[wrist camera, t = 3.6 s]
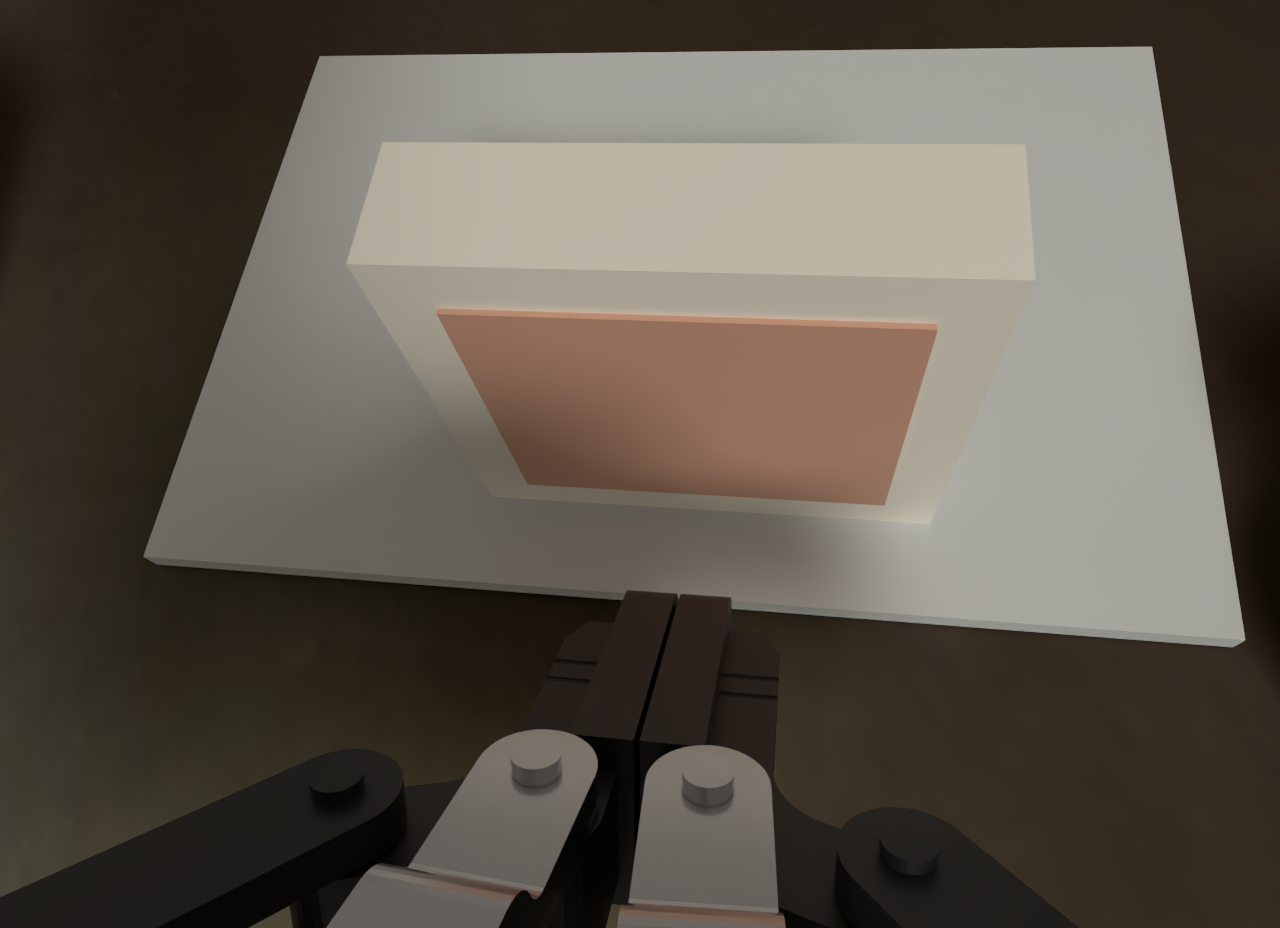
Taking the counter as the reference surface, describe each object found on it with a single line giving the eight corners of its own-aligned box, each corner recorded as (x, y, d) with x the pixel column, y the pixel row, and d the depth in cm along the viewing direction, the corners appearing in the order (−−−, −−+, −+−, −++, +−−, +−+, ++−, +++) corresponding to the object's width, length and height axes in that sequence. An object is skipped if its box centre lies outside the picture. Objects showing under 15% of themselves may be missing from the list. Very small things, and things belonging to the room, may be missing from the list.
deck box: (492, 501, 20) (344, 269, 13) (510, 406, 21) (382, 141, 14) (930, 528, 19) (1035, 287, 12) (928, 425, 20) (1025, 143, 13)
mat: (156, 564, 21) (143, 556, 20) (326, 70, 27) (319, 56, 27) (1232, 647, 18) (1245, 640, 17) (1144, 63, 24) (1152, 46, 23)
